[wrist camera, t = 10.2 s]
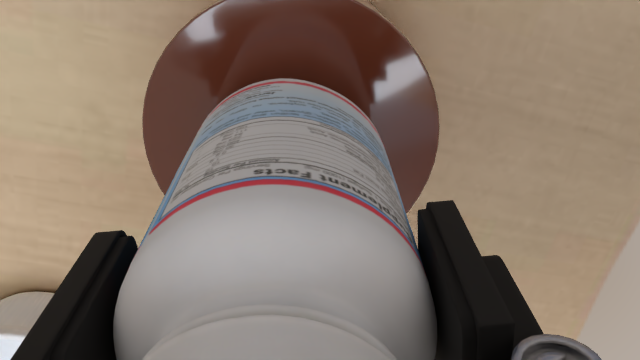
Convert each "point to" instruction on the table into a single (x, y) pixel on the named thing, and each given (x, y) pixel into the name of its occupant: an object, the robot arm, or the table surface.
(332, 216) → the pill bottle
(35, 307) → the ramekin
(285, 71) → the canister
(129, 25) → the table surface
